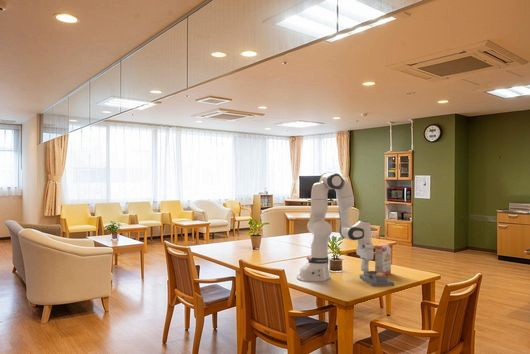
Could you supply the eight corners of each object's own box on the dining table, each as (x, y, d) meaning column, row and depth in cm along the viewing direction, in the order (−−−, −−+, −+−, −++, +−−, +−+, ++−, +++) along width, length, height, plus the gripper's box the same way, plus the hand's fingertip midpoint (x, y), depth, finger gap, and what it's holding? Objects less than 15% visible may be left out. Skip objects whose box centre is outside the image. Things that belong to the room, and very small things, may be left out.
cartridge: (362, 271, 267) (362, 257, 267) (359, 269, 272) (359, 256, 272) (370, 271, 267) (369, 257, 267) (366, 269, 273) (366, 256, 273)
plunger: (378, 280, 244) (377, 274, 244) (374, 278, 249) (374, 272, 249) (384, 279, 245) (384, 274, 245) (381, 277, 249) (381, 272, 249)
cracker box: (383, 277, 262) (383, 246, 262) (374, 275, 266) (374, 245, 266) (391, 273, 273) (391, 243, 273) (383, 271, 277) (383, 242, 277)
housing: (372, 286, 241) (372, 277, 241) (359, 278, 260) (359, 269, 260) (393, 285, 243) (393, 276, 243) (379, 277, 263) (379, 268, 263)
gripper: (354, 241, 279) (354, 261, 279) (366, 246, 259) (366, 267, 259) (362, 241, 280) (362, 260, 280) (375, 246, 260) (375, 267, 260)
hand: (364, 264), depth 270 cm, fingers closed on cartridge, 5 cm apart
